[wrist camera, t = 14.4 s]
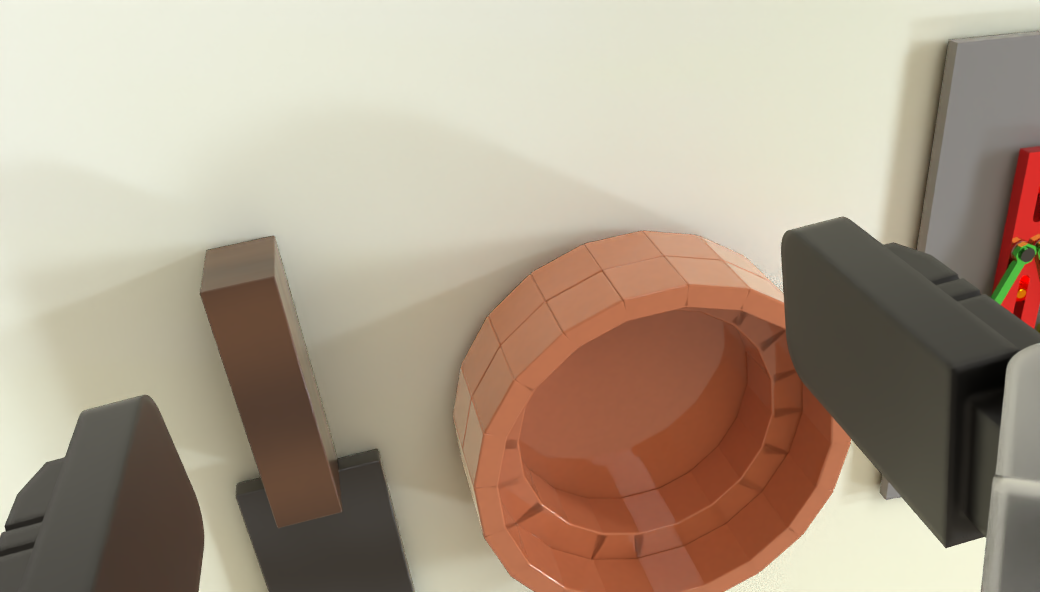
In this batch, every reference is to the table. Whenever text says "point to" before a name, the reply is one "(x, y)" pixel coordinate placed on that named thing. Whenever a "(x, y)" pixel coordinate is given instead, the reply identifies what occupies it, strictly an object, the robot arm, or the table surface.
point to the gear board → (987, 173)
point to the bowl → (642, 421)
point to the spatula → (295, 441)
